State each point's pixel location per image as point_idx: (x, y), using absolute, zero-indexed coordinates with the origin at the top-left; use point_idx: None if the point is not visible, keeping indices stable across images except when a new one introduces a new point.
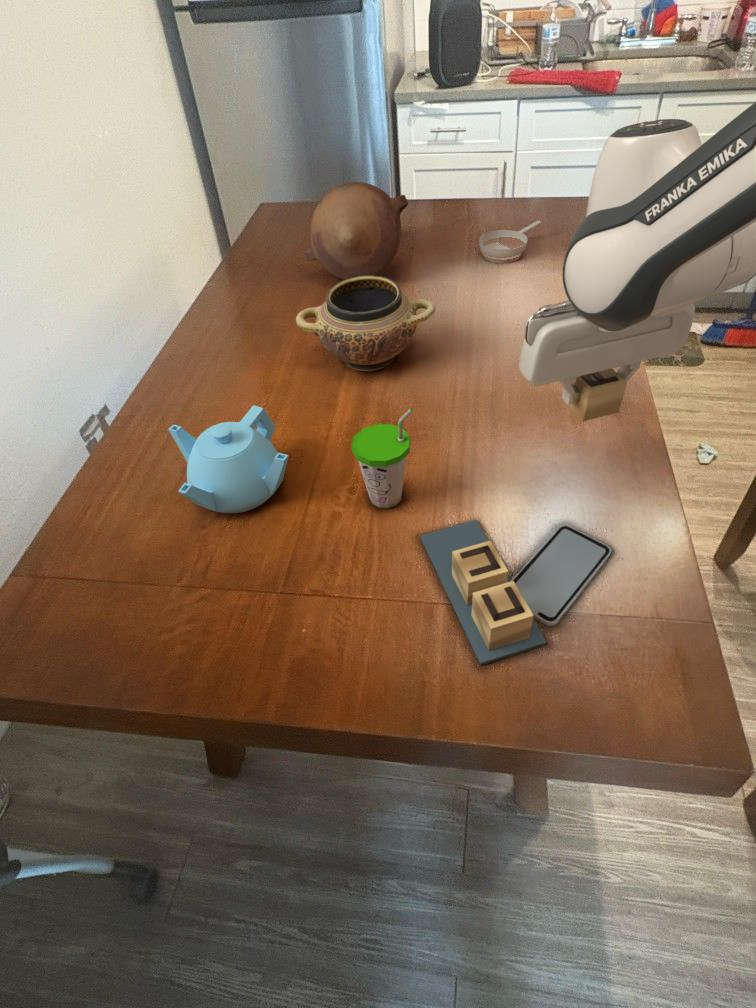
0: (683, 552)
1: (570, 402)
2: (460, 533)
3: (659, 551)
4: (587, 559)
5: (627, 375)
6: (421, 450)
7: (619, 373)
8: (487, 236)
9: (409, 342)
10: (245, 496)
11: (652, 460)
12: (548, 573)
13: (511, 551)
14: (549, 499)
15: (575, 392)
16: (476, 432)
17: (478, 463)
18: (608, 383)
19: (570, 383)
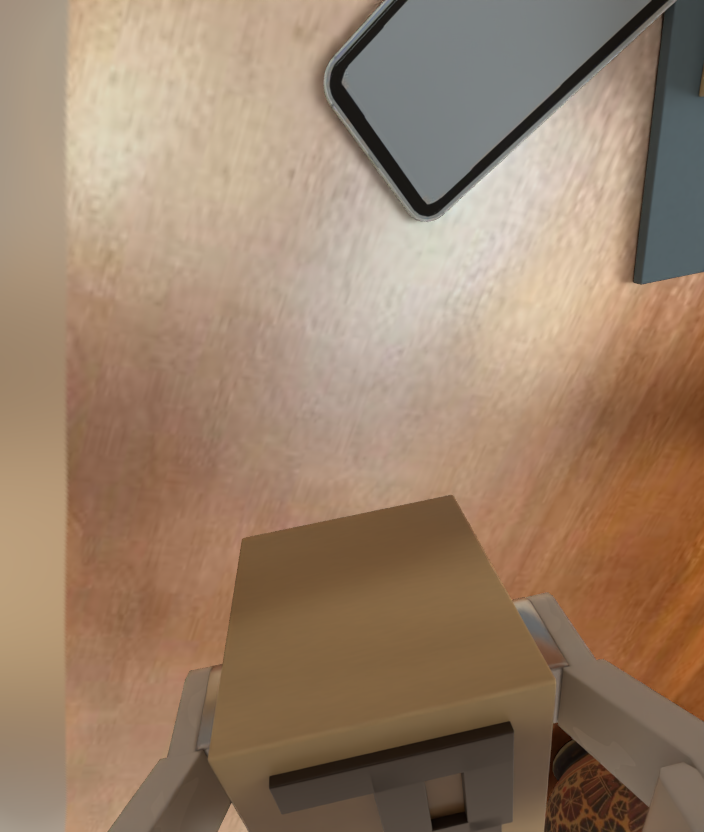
0: (77, 8)
1: (549, 604)
2: (701, 240)
3: (162, 36)
4: (414, 45)
5: (169, 807)
6: (628, 528)
7: (211, 809)
8: None
9: (566, 798)
10: None
11: (91, 437)
12: (557, 5)
13: (599, 150)
14: (419, 335)
15: (556, 672)
16: (494, 567)
17: (532, 478)
18: (363, 749)
19: (699, 762)
